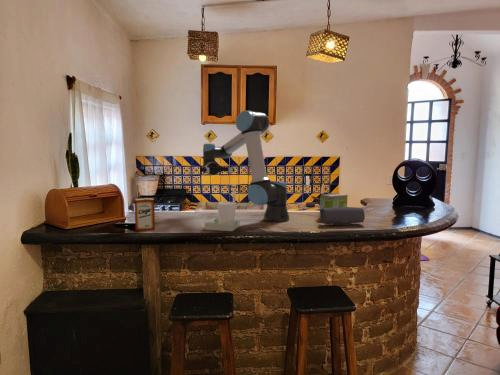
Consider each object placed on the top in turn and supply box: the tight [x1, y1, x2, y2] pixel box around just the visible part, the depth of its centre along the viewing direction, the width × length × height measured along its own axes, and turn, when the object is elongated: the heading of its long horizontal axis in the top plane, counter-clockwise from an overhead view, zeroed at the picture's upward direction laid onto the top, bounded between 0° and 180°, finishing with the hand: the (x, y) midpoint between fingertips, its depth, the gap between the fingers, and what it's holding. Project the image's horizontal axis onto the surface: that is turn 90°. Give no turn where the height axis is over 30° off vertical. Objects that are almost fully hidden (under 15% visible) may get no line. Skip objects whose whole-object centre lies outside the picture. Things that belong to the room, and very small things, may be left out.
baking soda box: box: [134, 197, 156, 232], centre depth 186 cm, size 10×6×16 cm
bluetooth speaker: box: [319, 206, 365, 226], centre depth 200 cm, size 23×9×10 cm, turn 100°
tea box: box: [318, 193, 348, 219], centre depth 220 cm, size 15×10×15 cm, turn 131°
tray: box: [204, 217, 241, 232], centre depth 192 cm, size 15×15×4 cm
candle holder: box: [217, 201, 237, 224], centre depth 193 cm, size 10×10×12 cm
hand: (220, 170), depth 202 cm, fingers open, 13 cm apart
